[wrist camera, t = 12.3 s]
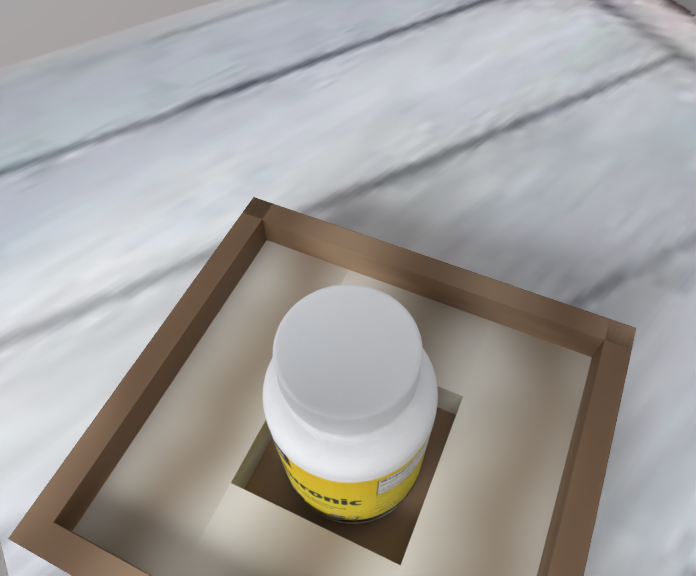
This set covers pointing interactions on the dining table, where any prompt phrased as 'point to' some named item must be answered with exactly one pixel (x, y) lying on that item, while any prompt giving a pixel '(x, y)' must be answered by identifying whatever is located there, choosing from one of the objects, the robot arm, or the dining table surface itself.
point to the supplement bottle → (350, 401)
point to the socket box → (264, 460)
